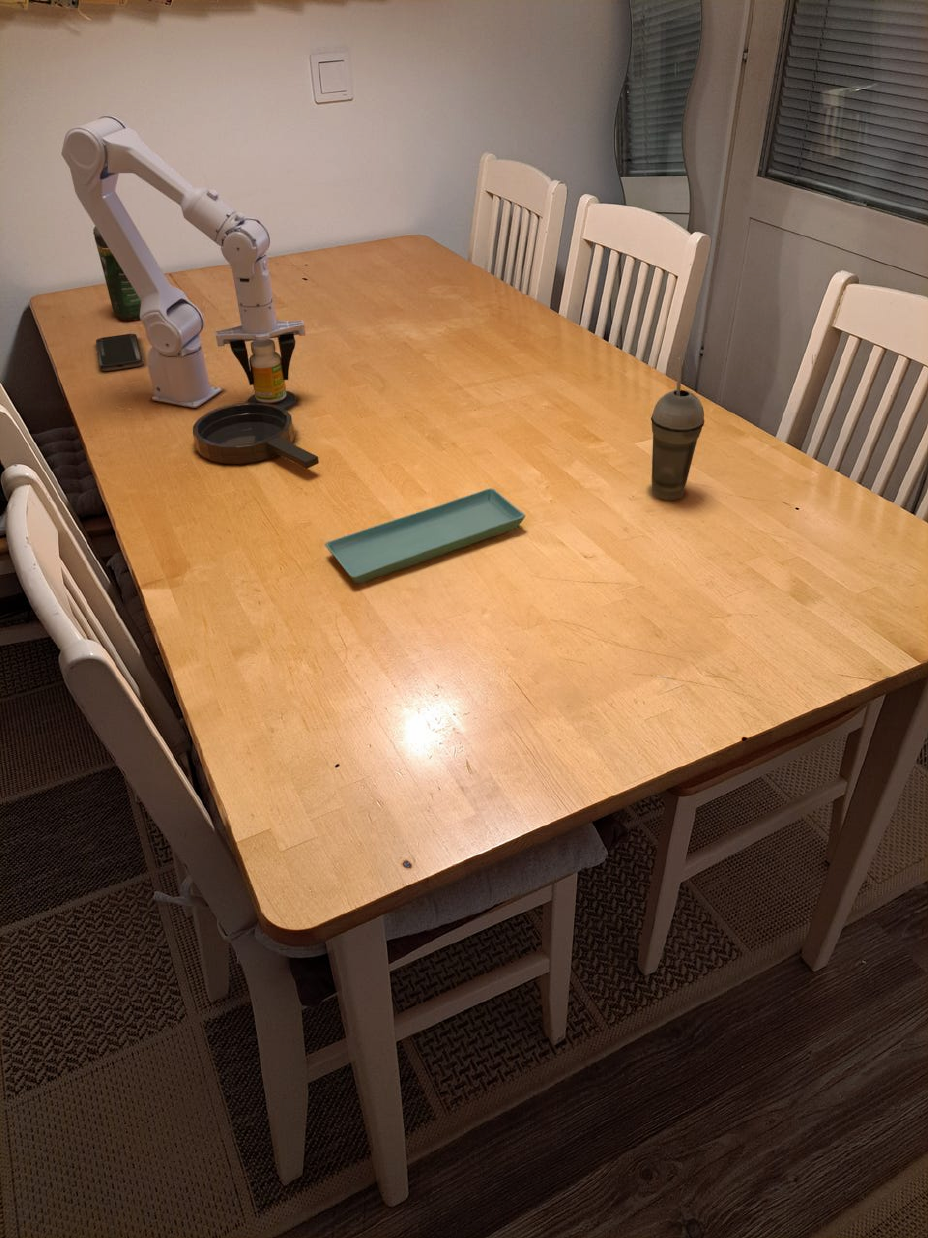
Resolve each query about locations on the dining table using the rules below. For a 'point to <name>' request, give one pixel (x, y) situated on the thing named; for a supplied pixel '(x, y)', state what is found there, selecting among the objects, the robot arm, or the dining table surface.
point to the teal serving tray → (424, 535)
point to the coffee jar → (117, 283)
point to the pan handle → (292, 452)
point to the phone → (119, 352)
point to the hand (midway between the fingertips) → (268, 380)
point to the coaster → (284, 403)
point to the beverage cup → (674, 440)
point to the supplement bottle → (267, 372)
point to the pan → (241, 432)
